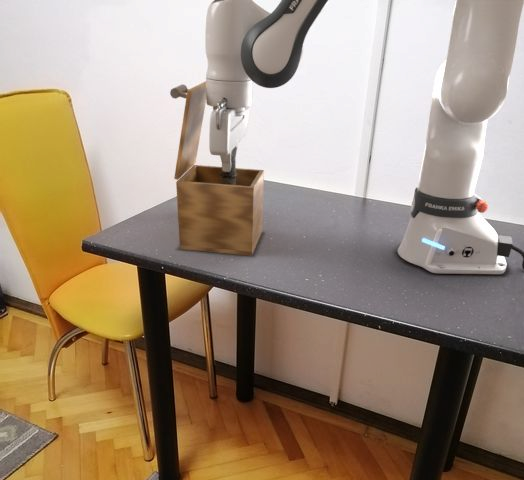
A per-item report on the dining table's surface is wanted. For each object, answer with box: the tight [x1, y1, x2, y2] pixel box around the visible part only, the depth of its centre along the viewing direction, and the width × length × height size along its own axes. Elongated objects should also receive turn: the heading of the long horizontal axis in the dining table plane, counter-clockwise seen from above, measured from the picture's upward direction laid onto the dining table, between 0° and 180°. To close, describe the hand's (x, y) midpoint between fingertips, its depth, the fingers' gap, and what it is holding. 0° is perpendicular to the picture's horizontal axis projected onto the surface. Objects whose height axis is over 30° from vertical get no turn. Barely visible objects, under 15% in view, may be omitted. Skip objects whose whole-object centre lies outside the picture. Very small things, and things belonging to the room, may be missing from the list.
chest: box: [175, 164, 265, 257], centre depth 115 cm, size 16×14×14 cm
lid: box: [169, 80, 207, 181], centre depth 107 cm, size 17×14×5 cm
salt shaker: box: [220, 156, 237, 185], centre depth 112 cm, size 6×6×12 cm
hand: (229, 168), depth 110 cm, fingers closed on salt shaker, 3 cm apart
